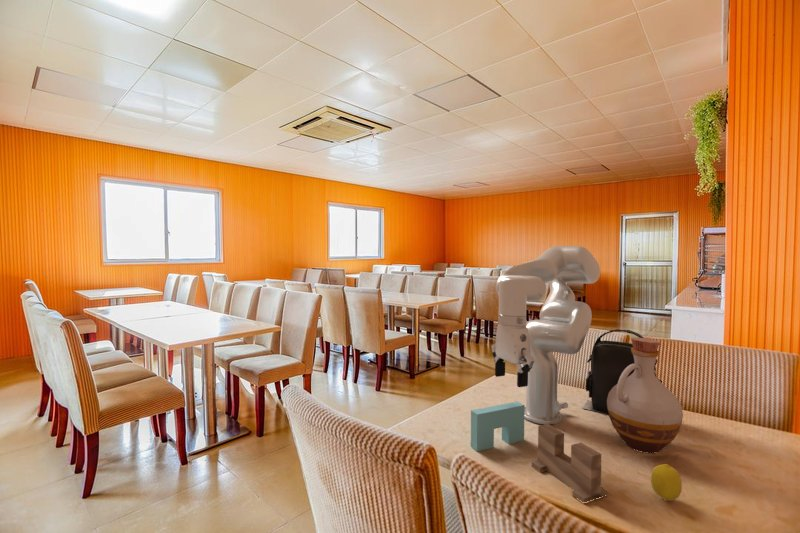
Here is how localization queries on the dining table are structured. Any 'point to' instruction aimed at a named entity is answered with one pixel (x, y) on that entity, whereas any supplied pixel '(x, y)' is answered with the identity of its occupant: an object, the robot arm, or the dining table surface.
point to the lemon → (666, 482)
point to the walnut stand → (570, 464)
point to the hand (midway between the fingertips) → (510, 381)
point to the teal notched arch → (497, 424)
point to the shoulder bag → (607, 369)
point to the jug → (644, 403)
